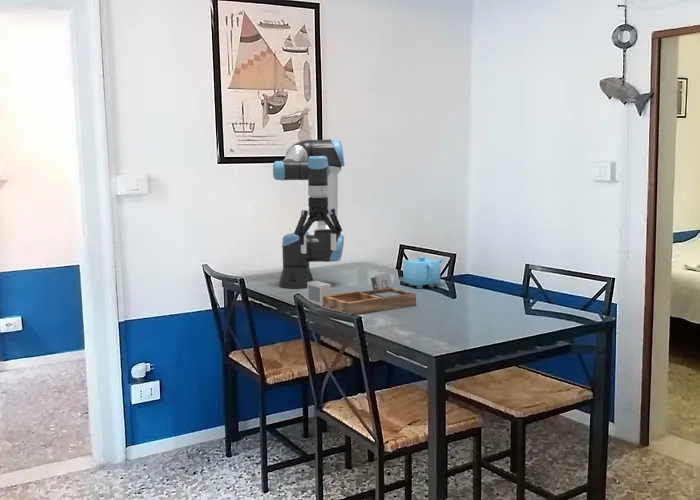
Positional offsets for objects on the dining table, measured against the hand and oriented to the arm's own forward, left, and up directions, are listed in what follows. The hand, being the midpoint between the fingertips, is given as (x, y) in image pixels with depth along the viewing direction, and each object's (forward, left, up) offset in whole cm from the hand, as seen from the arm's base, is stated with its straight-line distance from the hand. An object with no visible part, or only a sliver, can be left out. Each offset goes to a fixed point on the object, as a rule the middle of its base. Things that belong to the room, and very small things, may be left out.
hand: (318, 251), depth 294 cm
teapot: (-4, +58, -20) cm, 62 cm away
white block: (0, 0, -20) cm, 20 cm away
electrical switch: (+2, +29, -21) cm, 36 cm away
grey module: (+18, +20, -21) cm, 34 cm away
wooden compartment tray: (+17, +12, -20) cm, 29 cm away
